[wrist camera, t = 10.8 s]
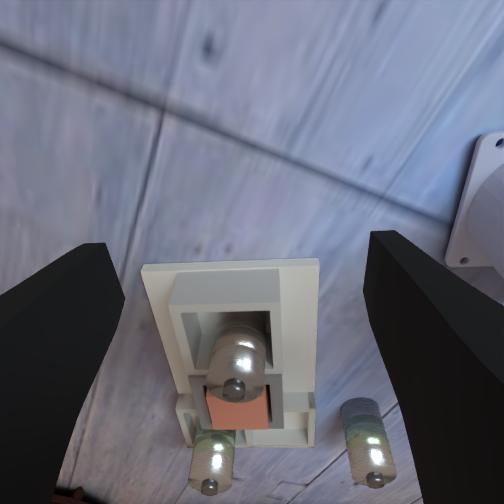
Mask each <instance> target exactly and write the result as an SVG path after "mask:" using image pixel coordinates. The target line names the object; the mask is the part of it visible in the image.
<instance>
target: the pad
mask: <svg viewBox="0 0 504 504" xmlns="http://www.w3.org/2000/svg"><path fill="white" fill-rule="evenodd" d="M206 400H207V404H208V408H209V412H210V416H211V421H212V425H213V429H214V430H264V429H268V385H264V390H263V392H262V394H261V395H260V396H259V397H258V398H256V399H255V400H252V401H250V402H245V403H231V402H226V401H223V400H220V399H218V398H216V397H215V396H213V395H212V394H211V393H210V392H209V391H208V389H207V393H206Z"/></svg>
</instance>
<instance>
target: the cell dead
mask: <svg viewBox="0 0 504 504" xmlns="http://www.w3.org/2000/svg"><path fill="white" fill-rule="evenodd" d="M266 330H267V313H266V311H233V312H220V313H219V318H218V323H217V326H216V331H215V336H214V341H213V346H212V351H211V356H210V362H209V367H208V372H207V377H206V387H207V389H208V391H209V392H210V393H211V394H212V395H213V396H215V397H216V398H218V399H220V400H223V401H226V402H231V403H245V402H250V401H252V400H255V399H256V398H258V397H259V396H260V395H261V394H262V392H263V390H264V373H265V359H266V337H267V332H266Z"/></svg>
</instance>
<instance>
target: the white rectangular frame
mask: <svg viewBox="0 0 504 504" xmlns="http://www.w3.org/2000/svg"><path fill="white" fill-rule="evenodd" d="M141 275H142V279H143V282H144V285H145V288H146V292H147V295H148V298H149V301H150V304H151V308H152V311H153V314H154V317H155V320H156V324H157V327H158V330H159V333H160V337H161V340H162V343H163V346H164V349H165V353H166V356H167V359H168V362H169V365H170V369H171V372H172V375H173V378H174V382H175V385H176V388H177V391H178V394H179V395H178V400H177V404H176V408H175V410H176V413H177V416H178V419H179V422H180V425H181V428H182V431H183V434H184V437H185V440H186V443H187V446H188V448H194V442H195V436H196V430H197V426H198V420H200V424H201V427H202V429H213V425H212V421H211V416H210V412H209V408H208V404H207V400H206V393H207V387H206V377H207V372H208V367H209V362H210V356H211V351H212V346H213V341H214V336H215V331H216V326H217V323H218V318H219V313H220V312H233V311H266V313H267V330H266V332H267V337H266V359H265V373H264V385H268V429H264V430H236V439H235V448H314V436H315V413H316V407H315V398H314V392H315V366H316V340H317V314H318V288H319V261H318V258H297V259H270V260H243V261H216V262H189V263H162V264H144V265H143V267H142V270H141Z"/></svg>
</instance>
